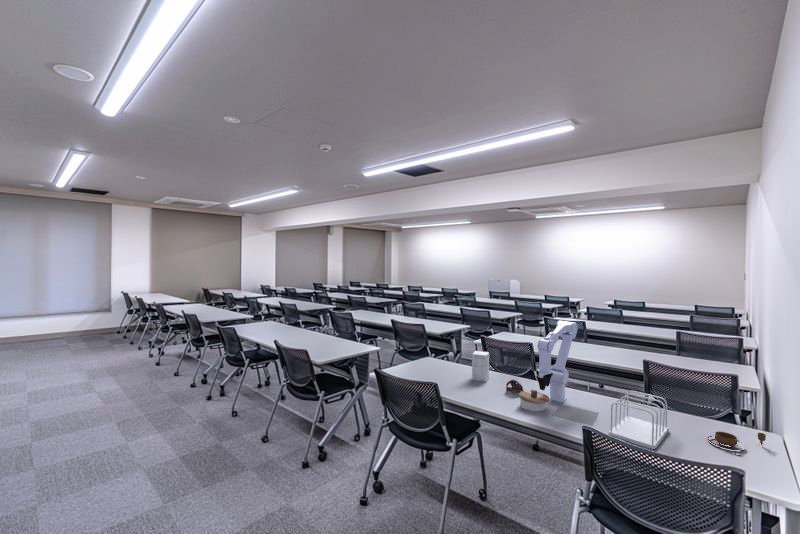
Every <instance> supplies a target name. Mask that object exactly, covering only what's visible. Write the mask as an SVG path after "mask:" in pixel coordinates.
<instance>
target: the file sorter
mask: <svg viewBox="0 0 800 534" xmlns="http://www.w3.org/2000/svg"><path fill="white" fill-rule="evenodd" d="M639 394H640V395H639ZM629 395H631V396H635V397H631V396H629ZM643 395H644V396H643ZM648 396H649V397H648ZM636 397H639V398H642V399H643V400H642V399H639V398H636ZM652 397H653V398H652ZM655 398H657V399H655ZM629 399H631V400H635V401H638V402H642V403H646V404H648V405H653V406H655V407H657V408H658V409H659V413H658V411H657V409H655V408H654V407H651V406H648V405H645V404H641V403H637V402H634V401H630V400H629ZM644 399H646V400H644ZM658 399H661V400H662V401H661V400H658ZM647 400H651V401H654V403H653V402H649V401H647ZM622 402H623V403H622ZM655 402H658V403H659V404H662V406H663V412H662V408H661V406H659V405H658V404H657V403H655ZM663 402H664V403H665V404H664V403H663ZM630 404H633V405H636V406H640V407H644V408H646V409H644V408H640V407H636V406H632V405H630ZM614 405H615V419H614V423H615V424H614V426H613V410H614V409H613V408H614ZM618 405H619V419H618ZM622 406H623V414H622ZM629 408H632V409H636V410H639V411H643V412H647V413H648V414H650V416H651V420H652V422H651V421H647V420H643V419H639V418H637V417H632V416H629ZM647 409H650V410H653V411H654V412H655V415H656V417H655V416H654V414H653V413H652V412H651V411H650V410H647ZM622 415H623V416H622ZM622 417H623V418H622ZM655 418H656V420H655ZM618 421H619V422H618ZM655 421H656V422H655ZM617 422H618V423H617ZM669 432H670V427H668V403H667V400H666V399H665V398H663V397H661V396H657V395H653V394H649V393H645V392H640V391H636V390H629V391H628V392H627V393H626V394H625V395H624V396H622V397H621V398H620V399H618V400H616V402H613V403H612V404H610V430H609V431H608V435H609V436H612V437H615V438H619V439H621V440H623V441H625V442H628V441H629V443H632V444H635V445H638V446H641V447H644V448H646V449H650V448H651V450H653V449H655V448H657V447H658V446H659V445H660V444H661V442H662V441H663V440H664V438H665V437H666V435H667V434H668V433H669ZM655 450H656V449H655Z"/></svg>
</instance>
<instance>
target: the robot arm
mask: <svg viewBox="0 0 800 534" xmlns="http://www.w3.org/2000/svg"><path fill="white" fill-rule="evenodd" d="M577 333H578V324H577V323H576V322H573V321H566V320H561V319H559V320H558V321H557V322H556V327H555V329H554V330H553V331H550V332H549V333H548V334H547V335H546V336H545V337H544V338H541V339H539V340H538V342H537V345H536V346H537V350H538V353H539V357H538V359H539V361H538V362H539V363H538V364H539V366H538V368H537V369H536V372H538V374H537V375H535V377H536V379H537V382H538V386H539V390H541V391H546V387H549V396H548V397H549V401H555V402H559V403H563V402H564V401H565V400H566V399H567V396H566V385H567V383H568V381H569V371H568V370H567V368H566V363H567V360H568V357H569V353H570V349H571V346H572V343H573V340H575V339H576V336H577ZM560 337H561V339H562V340H561V344H560V347H559V351H558V354H557V357H556V360H555V363H554V364H553V365H552V352H553V350H554V348H555V345H556V343H557V342H558V341H559V338H560Z"/></svg>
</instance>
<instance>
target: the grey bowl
mask: <svg viewBox="0 0 800 534" xmlns="http://www.w3.org/2000/svg"><path fill="white" fill-rule="evenodd" d="M519 399H520V407H521V409H524V410H526V411H531V412H542V411H545V410H546V408H547V407H546V403H541V404H539V403H531V402H527V401H524V400H522V399H521V398H519Z"/></svg>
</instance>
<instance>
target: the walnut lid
mask: <svg viewBox="0 0 800 534" xmlns="http://www.w3.org/2000/svg"><path fill="white" fill-rule="evenodd" d="M518 398H519V399H522V400H524V401H527V402H531V403H539V404H541V403H549V402H550V399H549V396H548V394H545V393H542V392H540V391H538V390H537V389H531V390H530V391H529V390H527V391H525V390H524V392H522V391H520V392H519V393H518Z"/></svg>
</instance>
